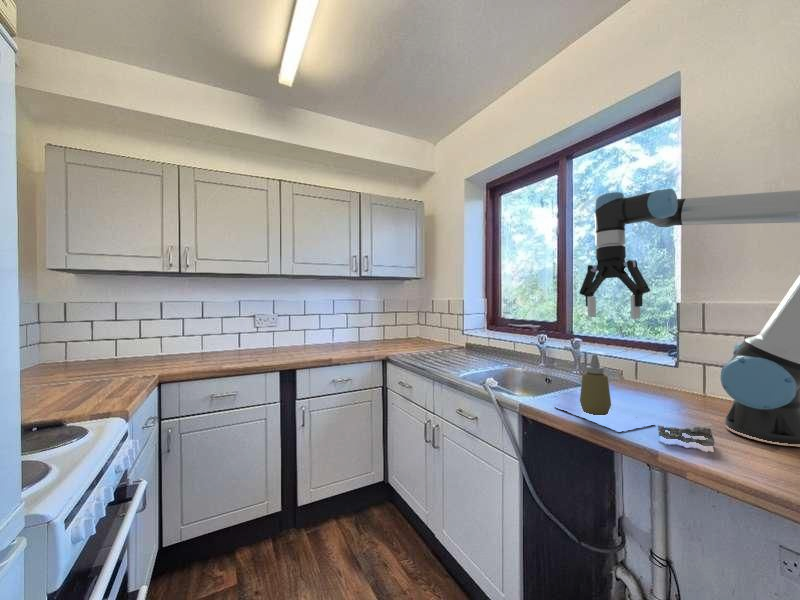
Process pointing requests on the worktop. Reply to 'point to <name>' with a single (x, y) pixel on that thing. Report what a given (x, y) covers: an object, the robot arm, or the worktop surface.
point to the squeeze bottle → (595, 389)
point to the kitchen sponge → (697, 431)
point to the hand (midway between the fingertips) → (612, 317)
